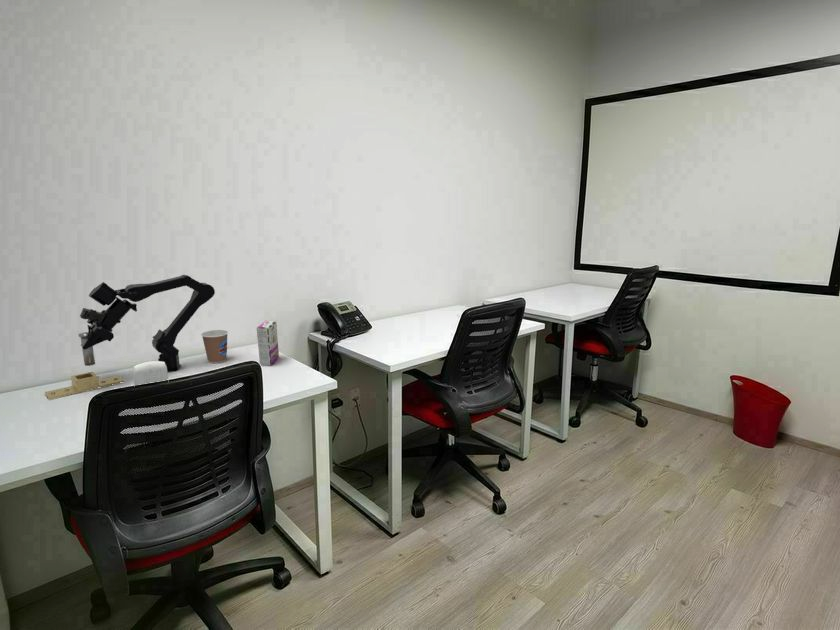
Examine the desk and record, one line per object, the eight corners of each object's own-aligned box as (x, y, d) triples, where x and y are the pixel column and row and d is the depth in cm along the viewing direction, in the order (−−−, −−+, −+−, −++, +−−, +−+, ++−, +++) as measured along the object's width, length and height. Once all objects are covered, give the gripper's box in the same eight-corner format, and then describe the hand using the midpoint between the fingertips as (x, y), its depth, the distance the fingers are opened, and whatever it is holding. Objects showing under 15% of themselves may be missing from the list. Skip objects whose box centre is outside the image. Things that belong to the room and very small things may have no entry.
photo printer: (169, 390, 171) (165, 357, 168) (170, 395, 168) (166, 361, 165) (135, 397, 166) (131, 362, 163) (136, 401, 162) (131, 366, 159)
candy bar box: (267, 357, 208) (265, 320, 204) (279, 357, 208) (277, 320, 204) (258, 366, 197) (256, 327, 193) (271, 366, 197) (268, 327, 193)
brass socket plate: (118, 377, 183) (117, 366, 182) (124, 382, 178) (122, 370, 177) (45, 394, 167) (42, 381, 166) (49, 399, 162) (46, 387, 161)
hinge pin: (98, 362, 177) (94, 331, 175) (94, 365, 173) (90, 334, 171) (85, 363, 176) (80, 332, 173) (81, 366, 172) (76, 335, 170)
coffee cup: (223, 364, 198) (221, 336, 195) (199, 364, 198) (196, 336, 196) (234, 356, 208) (232, 330, 205) (211, 356, 208) (208, 329, 206)
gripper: (90, 295, 179) (58, 329, 174) (98, 304, 165) (63, 340, 161) (117, 313, 186) (87, 346, 181) (127, 323, 172) (94, 358, 167)
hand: (82, 347), depth 172 cm, fingers closed on hinge pin, 3 cm apart
